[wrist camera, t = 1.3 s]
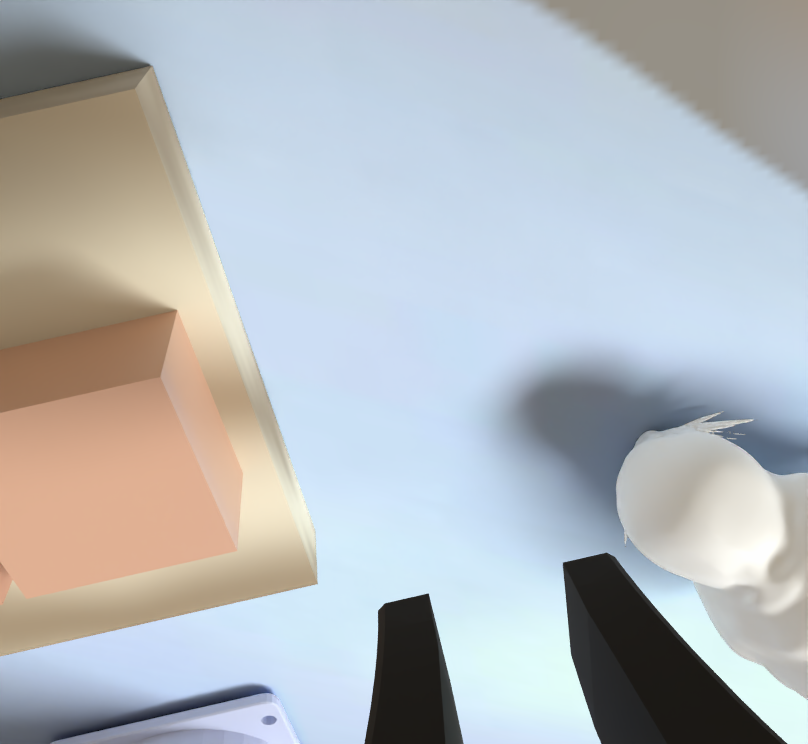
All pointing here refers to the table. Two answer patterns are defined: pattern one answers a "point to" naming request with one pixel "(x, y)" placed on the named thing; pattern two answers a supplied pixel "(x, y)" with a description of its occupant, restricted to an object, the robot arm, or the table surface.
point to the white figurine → (725, 538)
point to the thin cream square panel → (128, 300)
